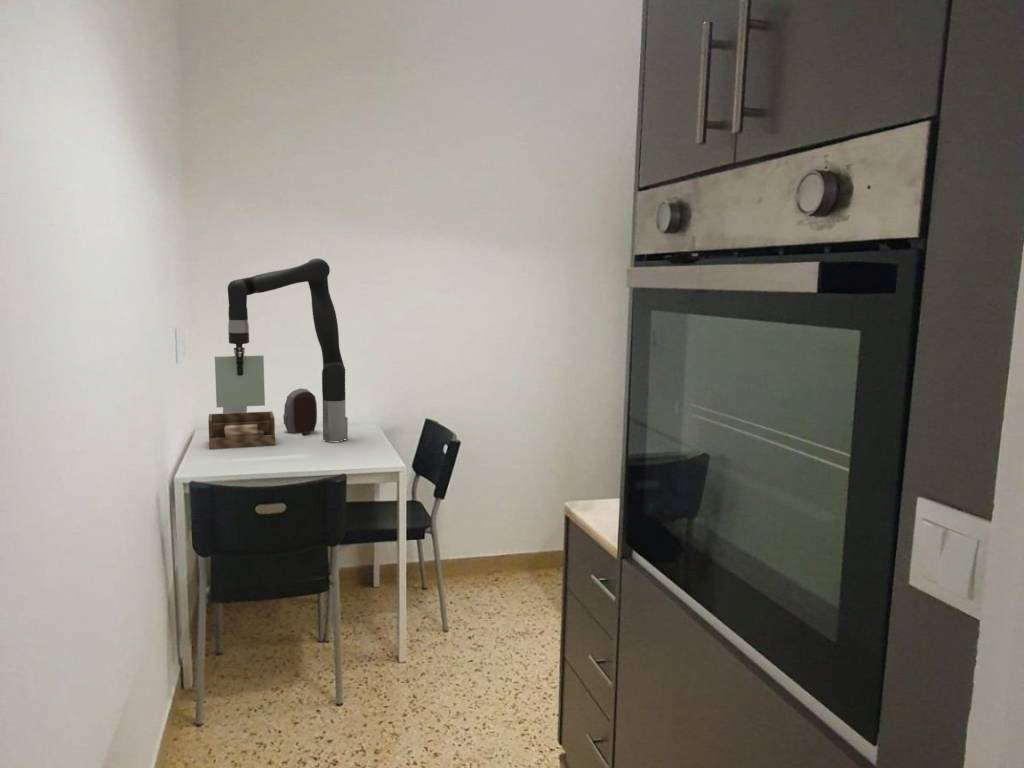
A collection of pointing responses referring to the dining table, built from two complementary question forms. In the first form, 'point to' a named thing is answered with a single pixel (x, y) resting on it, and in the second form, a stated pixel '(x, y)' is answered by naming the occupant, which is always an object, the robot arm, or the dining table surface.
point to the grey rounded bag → (300, 412)
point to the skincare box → (235, 409)
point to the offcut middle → (259, 433)
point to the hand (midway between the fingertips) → (240, 374)
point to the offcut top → (241, 429)
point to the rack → (260, 418)
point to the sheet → (239, 382)
